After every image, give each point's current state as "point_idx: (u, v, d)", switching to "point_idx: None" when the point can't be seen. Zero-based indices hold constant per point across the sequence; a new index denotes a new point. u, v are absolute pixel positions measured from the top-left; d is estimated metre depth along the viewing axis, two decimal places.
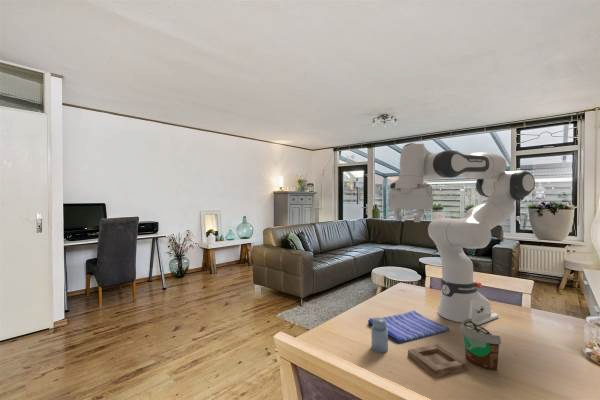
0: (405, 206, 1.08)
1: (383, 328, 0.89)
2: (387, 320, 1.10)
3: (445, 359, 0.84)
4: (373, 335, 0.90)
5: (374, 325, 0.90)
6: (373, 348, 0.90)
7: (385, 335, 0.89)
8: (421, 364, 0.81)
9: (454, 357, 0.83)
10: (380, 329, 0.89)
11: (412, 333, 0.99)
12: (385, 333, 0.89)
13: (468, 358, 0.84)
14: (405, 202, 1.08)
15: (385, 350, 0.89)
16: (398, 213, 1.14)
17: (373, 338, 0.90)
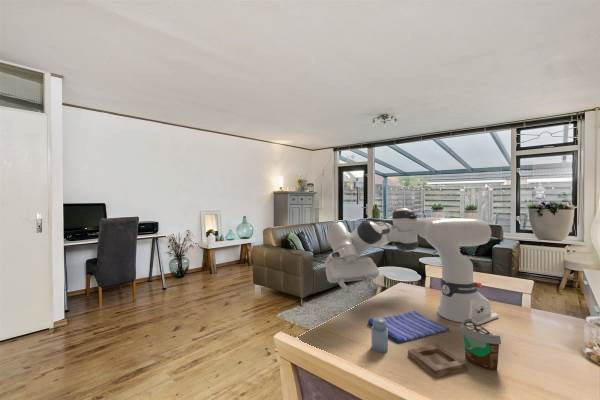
0: (356, 274, 1.05)
1: (383, 328, 0.89)
2: (387, 320, 1.10)
3: (445, 359, 0.84)
4: (373, 335, 0.90)
5: (374, 325, 0.90)
6: (373, 348, 0.90)
7: (385, 335, 0.89)
8: (421, 364, 0.81)
9: (454, 357, 0.83)
10: (380, 329, 0.89)
11: (412, 333, 0.99)
12: (385, 333, 0.89)
13: (468, 358, 0.84)
14: (355, 270, 1.06)
15: (385, 350, 0.89)
16: None
17: (373, 338, 0.90)
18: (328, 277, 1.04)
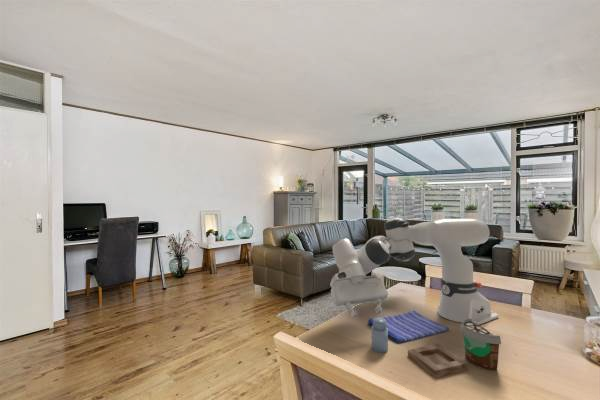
0: (364, 296, 0.99)
1: (383, 328, 0.89)
2: (387, 320, 1.10)
3: (445, 359, 0.84)
4: (373, 335, 0.90)
5: (374, 325, 0.90)
6: (373, 348, 0.90)
7: (385, 335, 0.89)
8: (421, 364, 0.81)
9: (454, 357, 0.83)
10: (380, 329, 0.89)
11: (412, 333, 0.99)
12: (385, 333, 0.89)
13: (468, 358, 0.84)
14: (362, 292, 1.00)
15: (385, 350, 0.89)
16: None
17: (373, 338, 0.90)
18: (334, 300, 0.98)
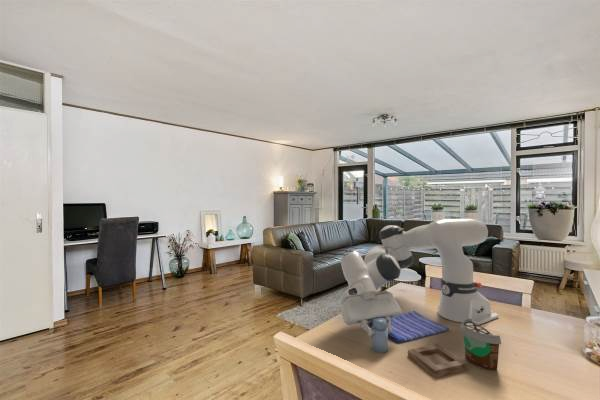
0: (376, 314, 0.93)
1: (383, 328, 0.89)
2: None
3: (445, 359, 0.84)
4: (373, 335, 0.90)
5: (374, 325, 0.90)
6: (373, 348, 0.90)
7: (385, 335, 0.89)
8: (421, 364, 0.81)
9: (454, 357, 0.83)
10: (380, 329, 0.89)
11: (412, 333, 0.99)
12: (385, 333, 0.89)
13: (468, 358, 0.84)
14: (374, 309, 0.94)
15: (385, 350, 0.89)
16: None
17: (373, 338, 0.90)
18: (345, 318, 0.92)
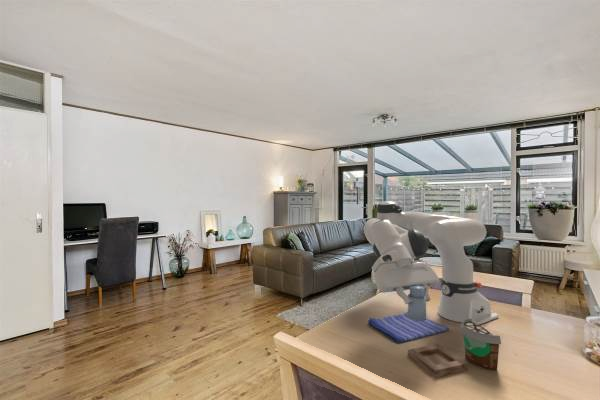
0: (413, 281, 0.87)
1: (421, 295, 0.83)
2: (387, 320, 1.10)
3: (445, 359, 0.84)
4: None
5: (411, 292, 0.84)
6: (410, 317, 0.84)
7: (424, 303, 0.83)
8: (421, 364, 0.81)
9: (454, 357, 0.83)
10: (418, 296, 0.83)
11: (412, 333, 0.99)
12: (424, 300, 0.83)
13: (468, 358, 0.84)
14: (411, 277, 0.88)
15: (424, 319, 0.83)
16: None
17: (410, 306, 0.84)
18: (379, 285, 0.86)
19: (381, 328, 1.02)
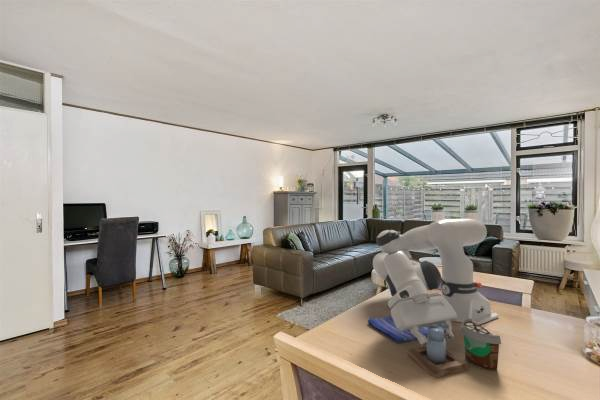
0: (431, 319, 0.85)
1: (441, 338, 0.81)
2: (387, 320, 1.10)
3: None
4: (430, 346, 0.82)
5: (430, 334, 0.82)
6: (430, 360, 0.82)
7: (444, 346, 0.81)
8: (421, 364, 0.81)
9: (454, 357, 0.83)
10: (438, 339, 0.81)
11: None
12: (444, 344, 0.81)
13: (468, 358, 0.84)
14: (429, 314, 0.86)
15: (444, 362, 0.81)
16: None
17: (430, 349, 0.82)
18: (397, 324, 0.84)
19: (381, 328, 1.02)
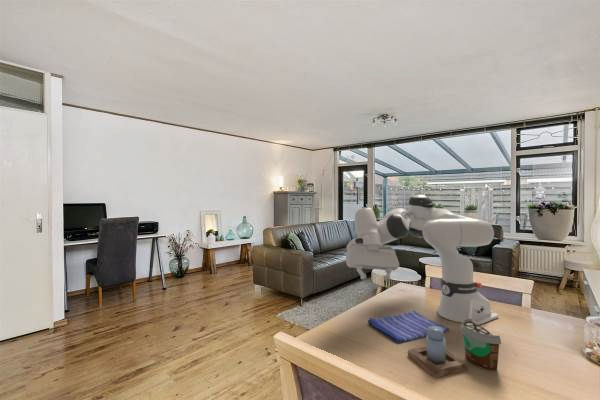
0: (376, 263, 1.06)
1: (440, 338, 0.81)
2: (387, 320, 1.10)
3: None
4: (429, 346, 0.82)
5: (430, 334, 0.82)
6: (430, 360, 0.82)
7: (443, 345, 0.81)
8: (421, 364, 0.81)
9: (454, 357, 0.83)
10: (438, 339, 0.81)
11: (412, 333, 0.99)
12: (443, 343, 0.81)
13: (468, 358, 0.84)
14: (375, 259, 1.07)
15: (444, 362, 0.81)
16: None
17: (429, 349, 0.82)
18: (347, 261, 1.06)
19: (381, 328, 1.02)
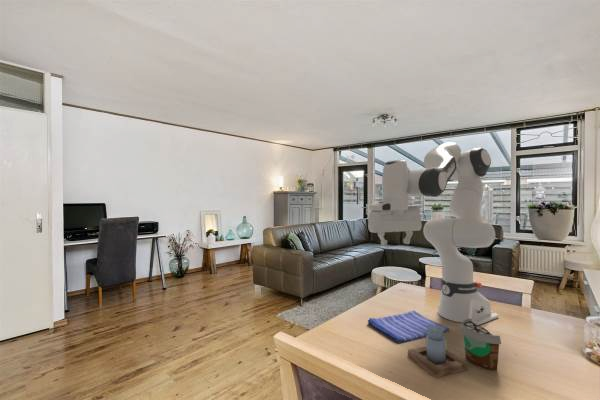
0: (399, 229, 1.01)
1: (440, 337, 0.81)
2: (387, 320, 1.10)
3: None
4: (429, 345, 0.82)
5: (429, 334, 0.83)
6: (429, 360, 0.82)
7: (443, 345, 0.81)
8: (421, 364, 0.81)
9: (454, 357, 0.83)
10: (437, 338, 0.81)
11: (412, 333, 0.99)
12: (443, 343, 0.81)
13: (468, 358, 0.84)
14: (399, 225, 1.01)
15: (443, 362, 0.81)
16: None
17: (429, 349, 0.82)
18: (370, 227, 1.00)
19: (381, 328, 1.02)
